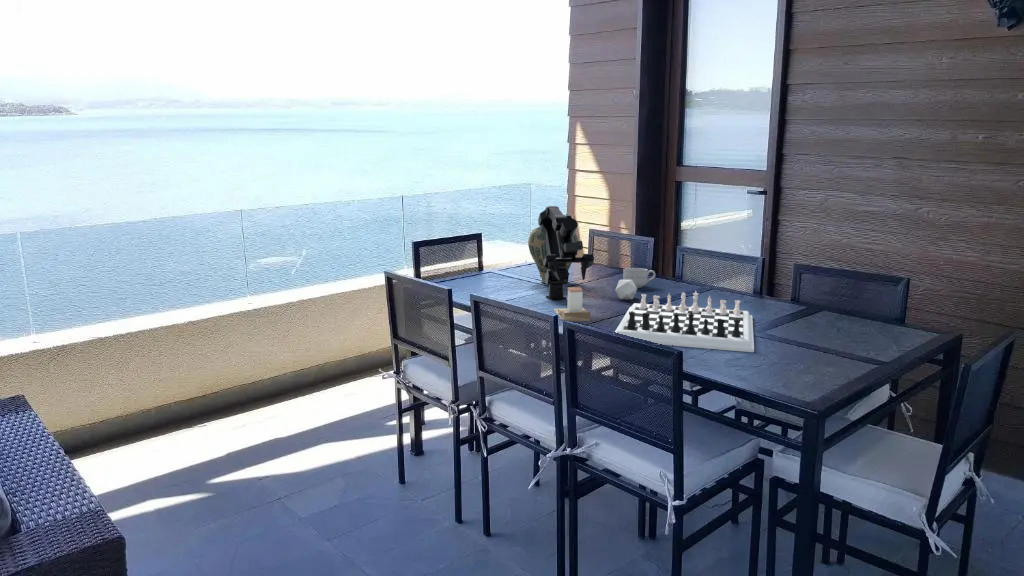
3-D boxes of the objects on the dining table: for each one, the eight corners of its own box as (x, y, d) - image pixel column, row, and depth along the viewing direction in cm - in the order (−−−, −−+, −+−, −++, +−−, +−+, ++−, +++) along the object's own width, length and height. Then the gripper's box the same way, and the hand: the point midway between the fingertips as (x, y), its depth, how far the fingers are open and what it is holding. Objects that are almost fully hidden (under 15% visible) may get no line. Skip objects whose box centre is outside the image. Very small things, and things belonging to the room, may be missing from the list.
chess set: (751, 319, 279) (754, 291, 276) (753, 354, 236) (756, 320, 234) (630, 311, 291) (631, 283, 289) (611, 342, 249) (612, 310, 247)
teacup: (620, 288, 329) (621, 270, 327) (624, 283, 339) (625, 266, 337) (652, 290, 324) (653, 272, 323) (656, 285, 334) (656, 267, 333)
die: (630, 303, 303) (642, 283, 304) (612, 292, 304) (624, 272, 305) (627, 306, 311) (639, 286, 313) (609, 295, 312) (621, 275, 313)
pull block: (567, 316, 278) (567, 287, 275) (579, 315, 278) (579, 286, 276) (569, 319, 273) (570, 289, 271) (581, 319, 274) (582, 289, 272)
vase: (563, 289, 325) (565, 220, 319) (519, 284, 336) (519, 217, 330) (585, 280, 344) (587, 215, 338) (542, 275, 355) (543, 212, 349)
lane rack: (553, 310, 289) (553, 301, 288) (578, 309, 290) (579, 300, 290) (563, 322, 271) (564, 313, 270) (591, 321, 272) (591, 312, 271)
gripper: (545, 233, 280) (551, 270, 273) (594, 232, 283) (601, 268, 276) (540, 249, 290) (546, 284, 283) (587, 248, 293) (594, 283, 286)
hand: (571, 280), depth 281 cm, fingers open, 9 cm apart
